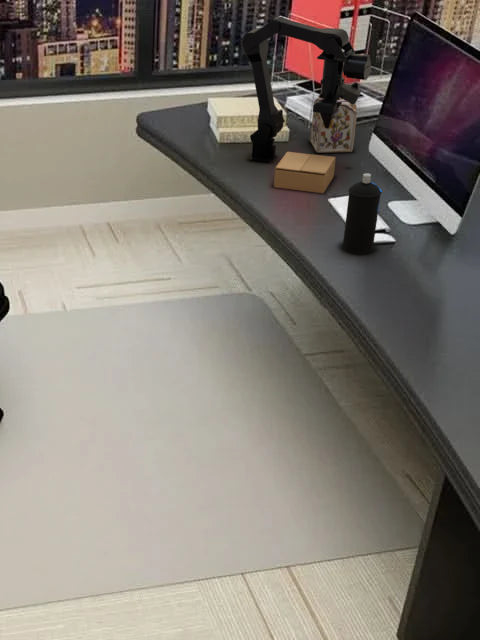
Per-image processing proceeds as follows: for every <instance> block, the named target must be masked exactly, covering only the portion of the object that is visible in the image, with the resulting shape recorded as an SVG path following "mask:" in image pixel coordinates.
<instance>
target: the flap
mask: <svg viewBox="0 0 480 640" xmlns="http://www.w3.org/2000/svg"><path fill="white" fill-rule="evenodd" d="M311 155H312V154H310V153H303V152H292V151H287V152H285V154H284V156H283V157H282V158H281V160H280V161H279V162H278V163H277V165H276V166H275V169H284V170H292V171H300V170H301V169H302V167H303V166H304V164H305V163H306V162H307V160H308V159H309V157H310V156H311Z"/></svg>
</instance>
